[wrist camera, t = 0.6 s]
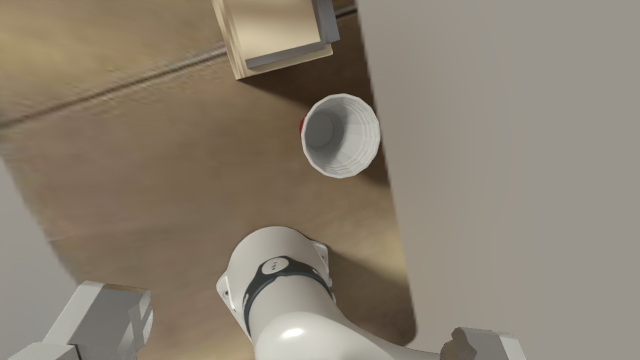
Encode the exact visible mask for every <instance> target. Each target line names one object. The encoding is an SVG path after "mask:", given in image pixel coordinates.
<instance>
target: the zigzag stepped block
mask: <svg viewBox="0 0 640 360" xmlns="http://www.w3.org/2000/svg"><path fill="white" fill-rule="evenodd" d="M212 3H213V6H214V10H215V13H216V16H217V20H218V23H219V26H220V30H221V33H222V36H223V40H224V43H225V46H226V49H227V53H228V56H229V59H230V63H231V66H232V69H233V73H234V76H235V79H236V80H238V79H242V78H246V77H249V76H253V75H257V74H261V73H265V72H269V71H273V70H277V69H281V68H285V67H288V66H292V65H296V64H300V63H303V62H307V61H311V60H314V59H318V58H321V57H325V56H329V55H332V54H333V52H332V47H331V43H333V42H336V41H338V40H340V36H339V32H338V27H337V22H336V18H335V13H334V8H333V4H332V0H212Z"/></svg>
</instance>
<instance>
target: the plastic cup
mask: <svg viewBox="0 0 640 360" xmlns="http://www.w3.org/2000/svg"><path fill="white" fill-rule="evenodd" d="M299 130H300V137H301V140H302V145H303V152H304V153H305V155H306V157H307V158H308V160H309V162H310V163H311V165H312V166H313V167H314V168H316V169H317V170H318V171H320V172H321V173H323V174H324V175H327V176H331V177H336V178H344V177H349V176H354V175H356V174H358V173H359V172H361V171H362V170H364V169H365V168H367V167H368V165H369V164H370V163H371V161H372V160H373V158H374V157H375V155H376V154H377V150H378V146H379V142H380V129H379V122H378V120H377V118H376V116H375V114H374V112H373V110H372V108H371V107H370V106H368V105H367V104H366V103H365V102H364V101H363V100H361V99H360V98H358V97H355V96H352V95H348V94H345V93H344V94H336V95H329V96H327V97H326V98H324V99H322V100H321V101H319V102H317V103H316V104H315V105H314V106H313V107H312V109H311V110H310V112H309V113H308V114H307V115H306V116H305V117H304V118H303V120H302V121H301V125H300V129H299Z"/></svg>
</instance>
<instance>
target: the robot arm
mask: <svg viewBox="0 0 640 360" xmlns="http://www.w3.org/2000/svg"><path fill="white" fill-rule="evenodd" d="M330 287H332V280H331V278H329V266H328V250H327V248H326V246H325V245H324V244H323V243H320V242H317V241H312V240H309V239H307V238H306V237H305V236H303V235H302V234H301V233H299V232H297V231H296V230H293V229H291V228H287V227H281V226H273V227H266V228H263V229H260V230H257V231H255V232H253V233H251V234H250V235H248V236H247V237H246V238H245V239H243V240H242V241H241V242H240V243H239V245H238V246H237V247H236V249H235V250H234V252H233V254H232V256H231V259H230V262H229V265H228V268H227V270H226V272H225V273H224V274H223V275H222V276H221V277H220V279H219V280H218V282H217V284H216V288H217V291H218V293H219V294H220V296H221V297H222V299H223V300H224V302H225V303H226V305H227V306H228V308H229V309H230V311H231V312H232V314H233V315H234V317H235V318H236V320H237V321H238V323H239V324H240V326H241V327H242V329H243V330H244V332H245V333H246V335H247V336H248V338H249V339H250V341H251V342H252V344H253V349H254V355H255V360H526V358H525V355H524V353H523V351H522V349H521V347H520V345H519V342H518V340H517V339H516V337H515V336H514V335H513V334H511V333H504V332H495V331H491V330H482V329H473V328H464V327H458V328H456V329H455V330H454V331H453V332H452V334H451V335H452V338H453V340H451V341H449V342H447V343H445V344H444V346H443V348H442V350H441V353H440V354H437V353H430V352H424V351H418V350H413V349H409V348H406V347H402V346H399V345H396V344H393V343H391V342H388V341H386V340H383V339H381V338H379V337H377V336H375V335H373V334H371V333H369V332H367V331H365V330H363V329H361V328H360V327H358V326H356V325H355V324H353V323H352V322H350V321H349V320H348V319H347V318H346V317H345V316H344V315H343V314H342V312H341V311H340V310H339V308H338V307H337V306H336V299H335V296H334V293H333V292H331V291H330ZM226 291H228V293H225V292H226ZM150 300H151V292H150V289H144V288H137V287H130V286H123V285H116V284H109V283H102V282H94V281H84V282H83V283H82V284H81V285H80V286H79V287H78V288H77V290H76V291H75V293H74V294H73V296H72V297H71V299H70V301H69V302H68V303H67V305H66V306H65V308H64V310H63V311H62V313H61V314H60V316H59V317H58V319H57V320H56V322H55V323H54V325H53V326H52V328H51V329H50V331H49V333H48V334H47V335H46V337H45V339H44V340H43V341H42V342H40V341H35V342H33V343H32V344H30V345H29V346H27V347H26V348H24V349H23V350H21V351H19V352H18V353H16V354H15V355H13V356H12V357H10V358H9V359H7V360H137V356H136V352H137V351H139V350H140V349H141V348H143V347H144V346H145V344H146V341H147V339H148V336H149V333H150V329H151V325H152V320H153V309H152V308H151V307H150V306H149V305H148V304H149V302H150Z"/></svg>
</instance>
